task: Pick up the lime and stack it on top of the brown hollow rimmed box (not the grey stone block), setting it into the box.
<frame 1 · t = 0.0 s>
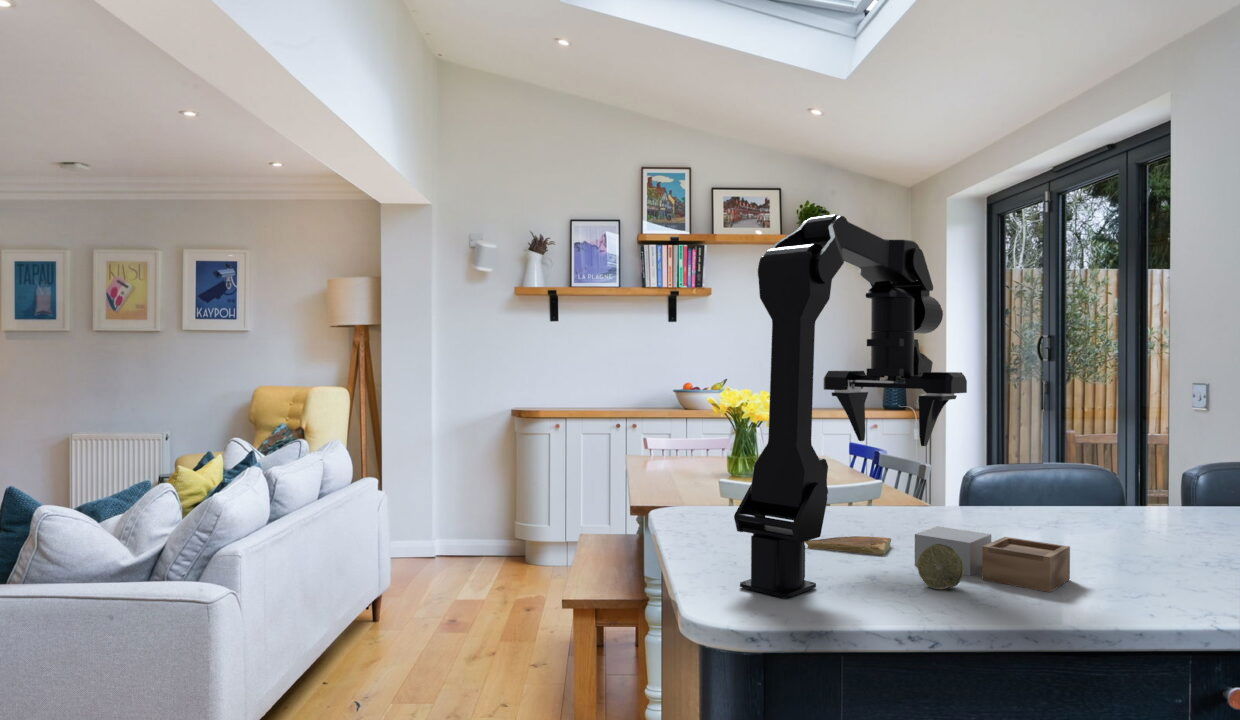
hand: (891, 443, 114), 15 cm above the counter, fingers open, 9 cm apart
brown hollow rimmed box: (1026, 579, 98), on the counter
lime: (940, 589, 94), on the counter
shard: (856, 554, 113), on the counter
grey stone block: (952, 565, 104), on the counter
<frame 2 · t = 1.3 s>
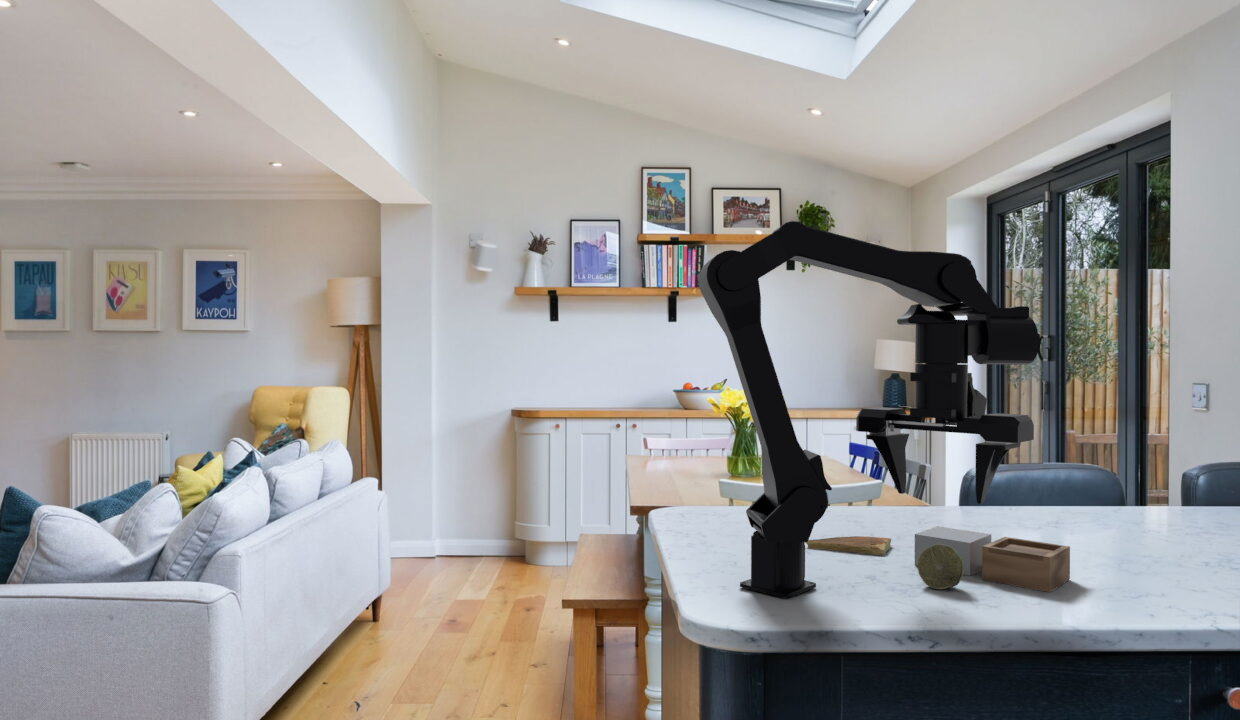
hand: (939, 498, 94), 10 cm above the counter, fingers open, 9 cm apart
nothing on the counter moved.
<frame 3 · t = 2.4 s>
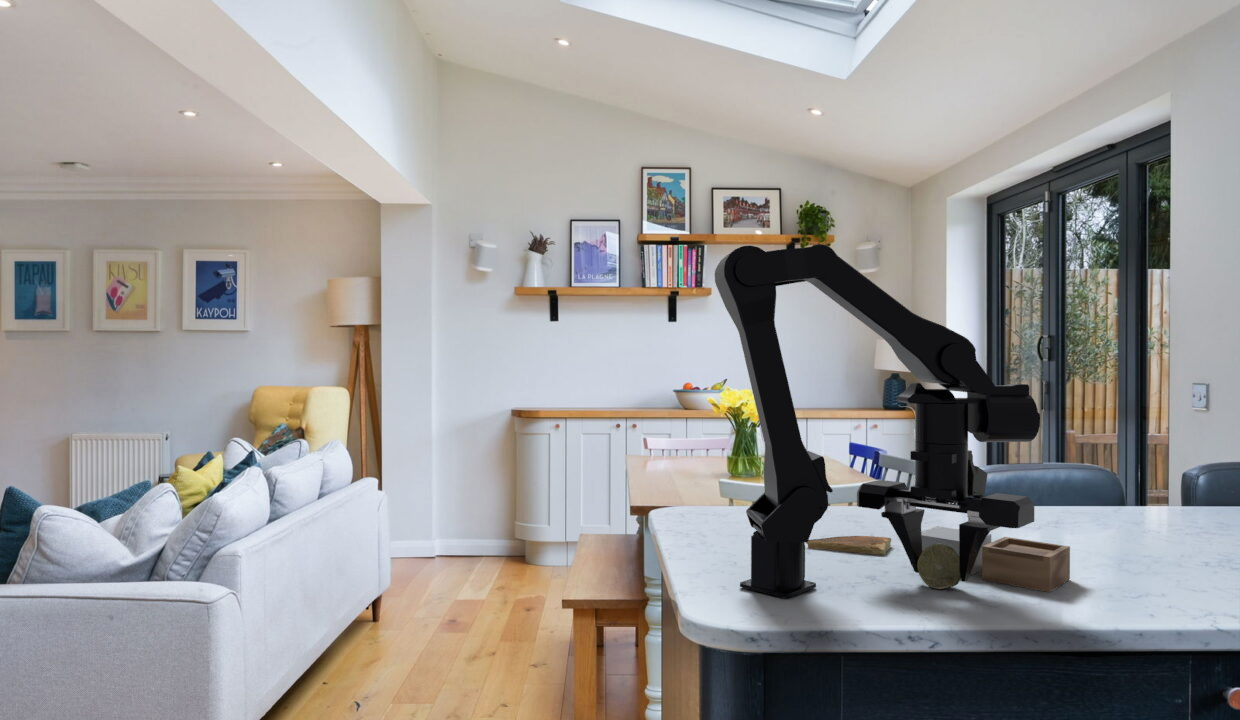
hand: (940, 576, 94), 1 cm above the counter, fingers closed on lime, 5 cm apart
lime: (940, 588, 95), on the counter, touching gripper
everything else where it was.
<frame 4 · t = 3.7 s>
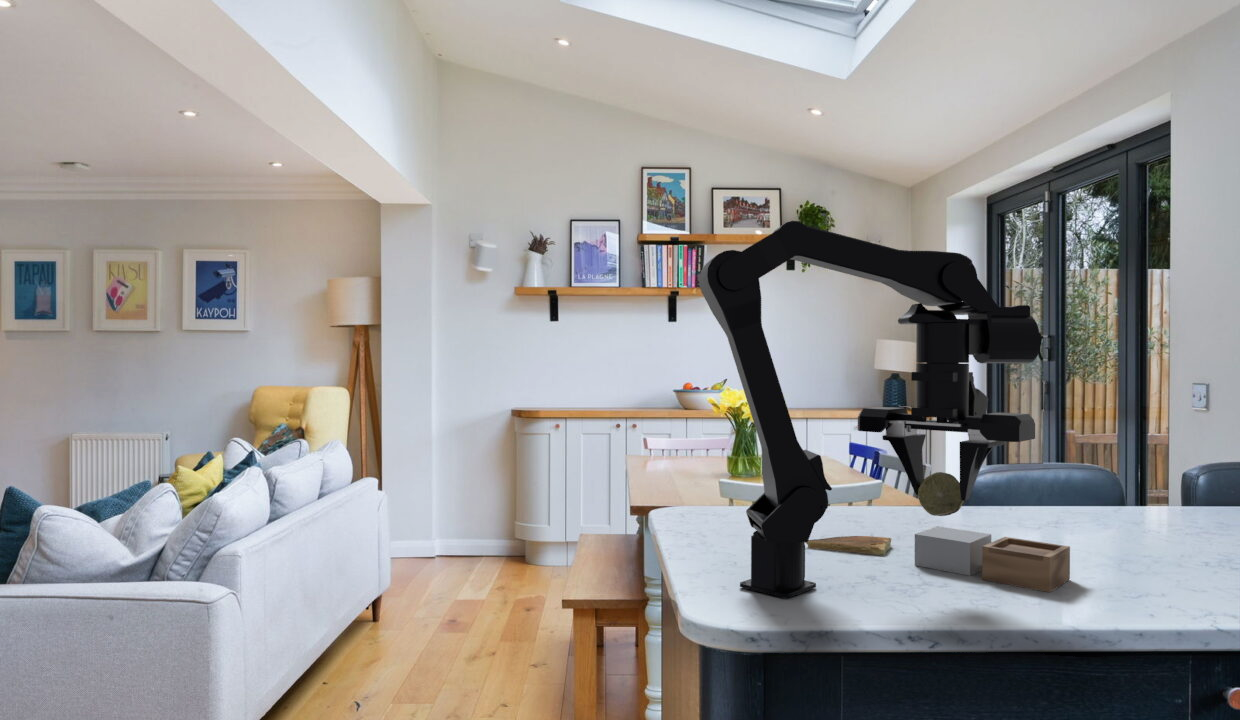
hand: (941, 497, 94), 10 cm above the counter, fingers closed on lime, 5 cm apart
lime: (940, 517, 95), point 8 cm above the counter, touching gripper
everything else where it was.
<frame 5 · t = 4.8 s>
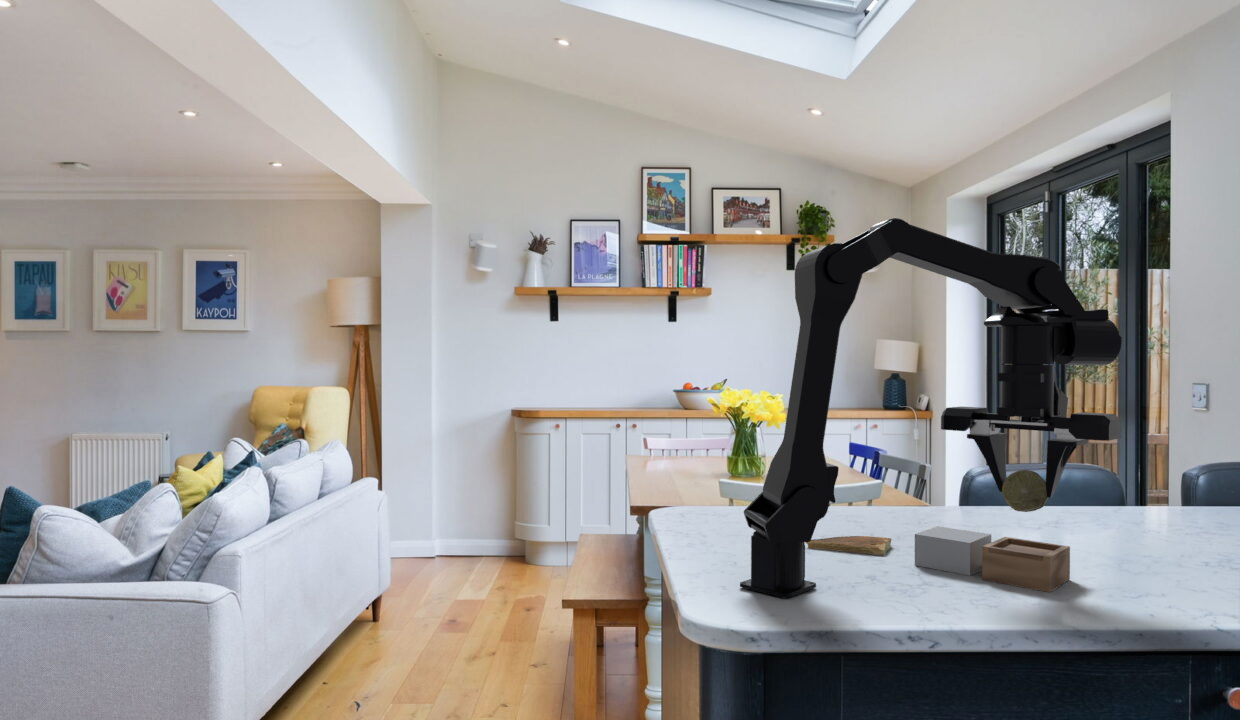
hand: (1025, 494, 98), 10 cm above the counter, fingers closed on lime, 5 cm apart
lime: (1024, 513, 98), point 8 cm above the counter, touching gripper
everything else where it was.
when the fingers open (6 cm above the counter, at t = 5.9 s): lime stays where it is, resting on brown hollow rimmed box.
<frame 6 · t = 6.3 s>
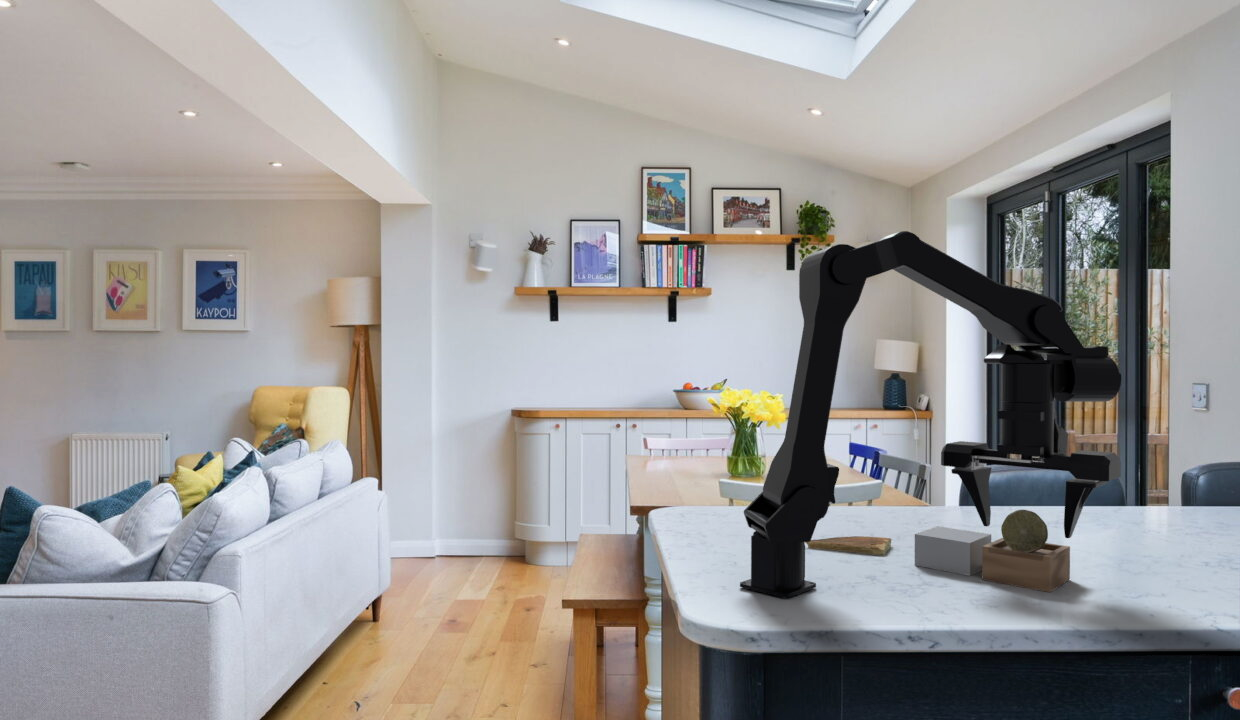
hand: (1026, 531, 98), 6 cm above the counter, fingers open, 9 cm apart
lime: (1024, 553, 98), point 3 cm above the counter, touching brown hollow rimmed box
everything else where it was.
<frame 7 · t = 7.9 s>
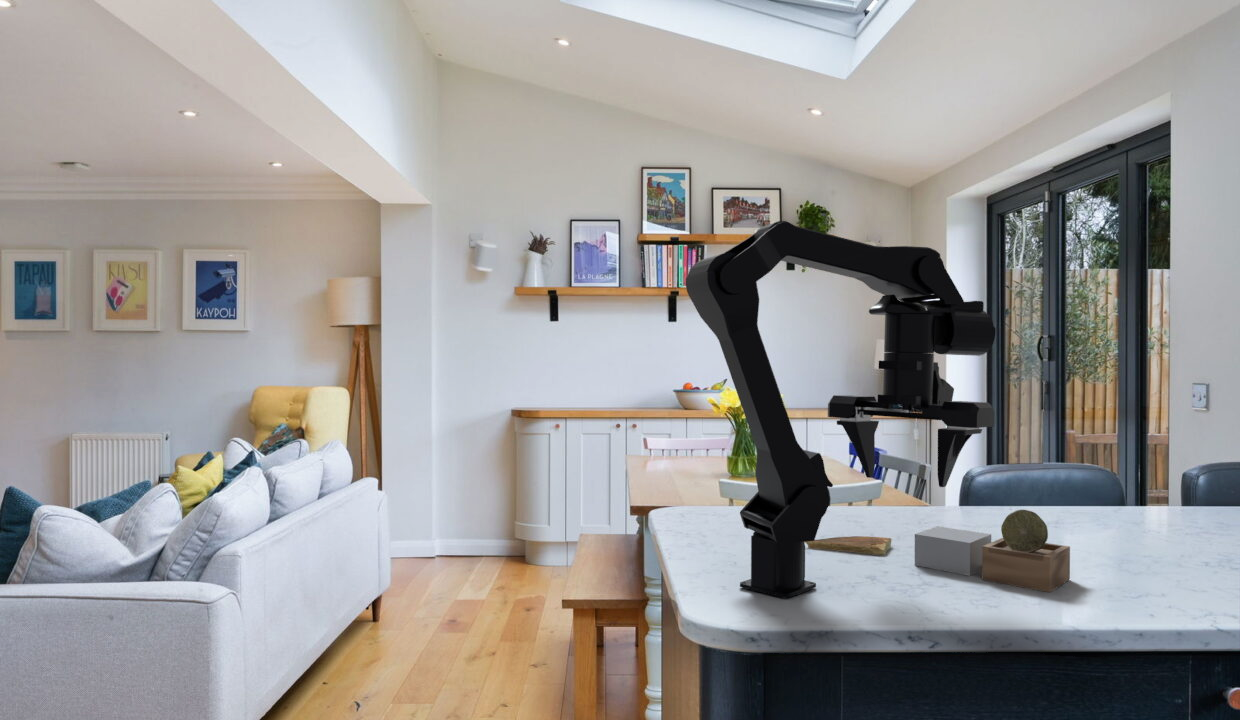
hand: (905, 481, 98), 12 cm above the counter, fingers open, 9 cm apart
nothing on the counter moved.
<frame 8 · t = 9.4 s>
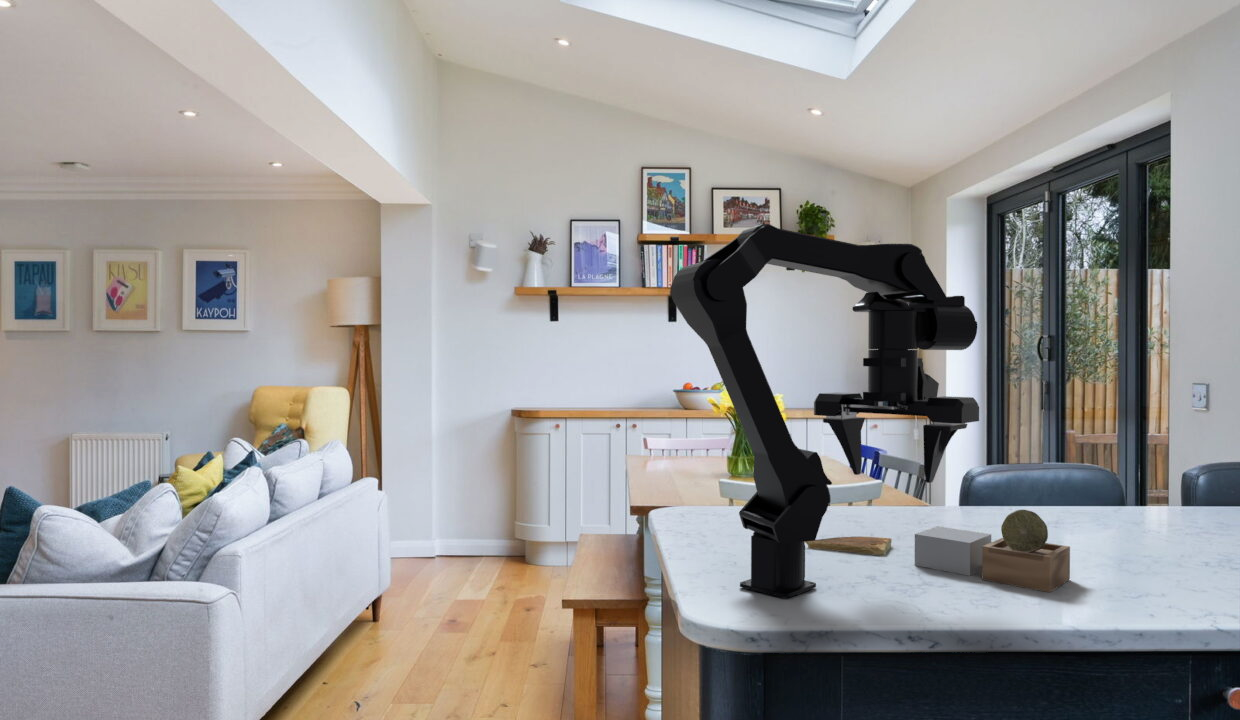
hand: (892, 478, 99), 12 cm above the counter, fingers open, 9 cm apart
nothing on the counter moved.
at the end: lime 0.3 cm off-centre on the brown hollow rimmed box, point 3.2 cm above the brown hollow rimmed box's base; lime touching brown hollow rimmed box; the gripper is holding nothing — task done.
